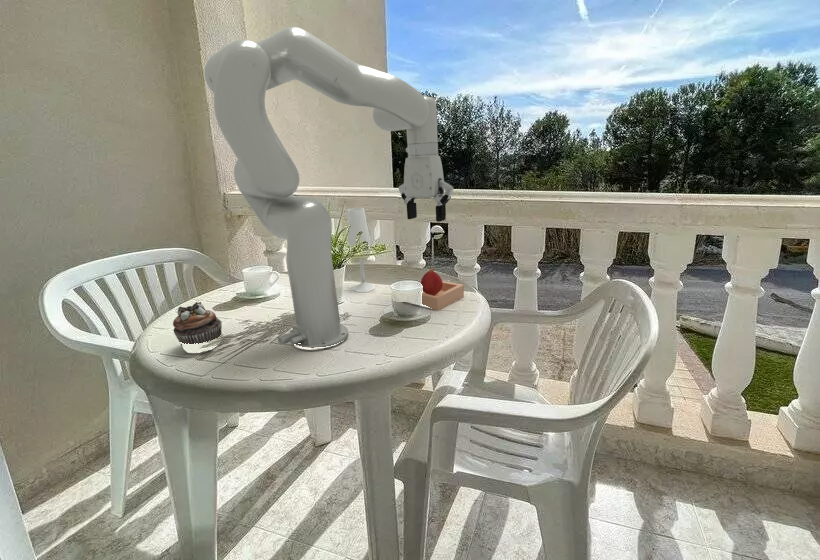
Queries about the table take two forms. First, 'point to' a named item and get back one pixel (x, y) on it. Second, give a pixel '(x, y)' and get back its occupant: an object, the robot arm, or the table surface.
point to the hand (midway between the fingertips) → (426, 219)
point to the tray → (444, 296)
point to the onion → (431, 283)
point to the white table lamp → (360, 224)
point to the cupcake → (196, 324)
